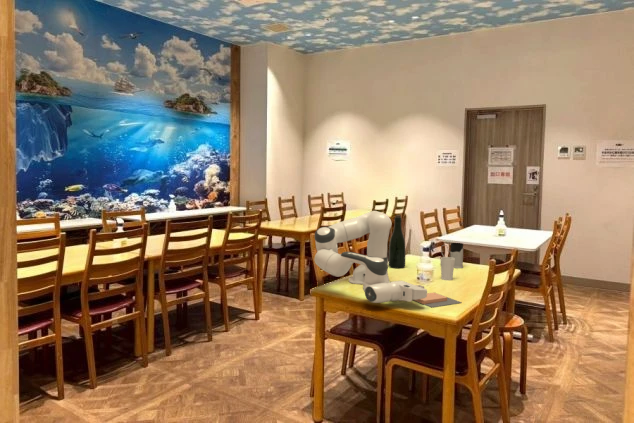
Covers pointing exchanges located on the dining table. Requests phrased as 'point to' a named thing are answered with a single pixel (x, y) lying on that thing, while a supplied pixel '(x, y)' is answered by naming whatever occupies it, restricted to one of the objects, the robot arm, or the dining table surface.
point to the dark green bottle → (397, 246)
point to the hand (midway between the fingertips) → (422, 287)
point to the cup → (447, 268)
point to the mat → (442, 303)
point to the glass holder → (456, 254)
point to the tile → (432, 298)
